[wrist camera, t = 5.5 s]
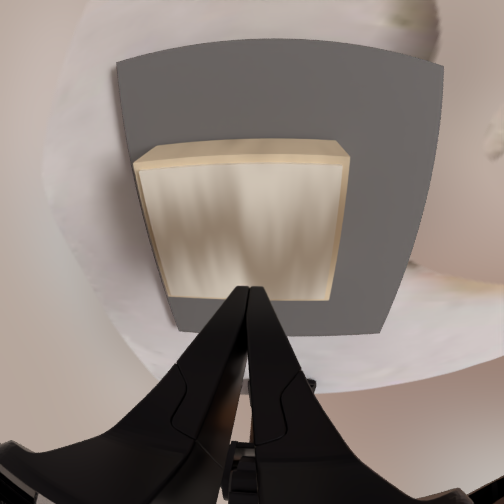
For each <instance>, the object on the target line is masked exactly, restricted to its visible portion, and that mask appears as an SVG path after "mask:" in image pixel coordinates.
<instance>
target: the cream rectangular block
mask: <svg viewBox="0 0 504 504" xmlns="http://www.w3.org/2000/svg"><path fill="white" fill-rule="evenodd" d="M349 165H350V156H349V155H348V154H347V152H346V151H345V150H344V149H343V148H342V147H341V146H340V144H339V143H338V142H337V141H336V140H319V139H285V138H262V139H229V140H211V141H197V142H186V143H176V144H167V145H158V146H155V147H154V148H153V149H151V150H150V151H148V152H147V153H146V154H144V155H143V156H142V157H140V158H139V159H138V160H136V161H135V162H134V163H133V166H134V171H135V176H136V181H137V185H138V190H139V194H140V198H141V203H142V207H143V211H144V215H145V219H146V223H147V227H148V230H149V234H150V238H151V241H152V245H153V249H154V252H155V256H156V259H157V262H158V266H159V269H160V272H161V276H162V279H163V282H164V285H165V288H166V291H167V294H168V297H185V298H206V299H226V298H227V297H228V296H229V295H230V293H231V292H232V291H233V289H234V288H235V287H236V286H249V287H251V286H263V287H264V288H265V291H266V293H267V295H268V297H269V299H270V300H278V301H325V300H329V297H330V293H331V288H332V282H333V277H334V272H335V266H336V261H337V255H338V249H339V243H340V237H341V230H342V223H343V216H344V209H345V201H346V193H347V184H348V175H349Z"/></svg>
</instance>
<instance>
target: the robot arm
mask: <svg viewBox="0 0 504 504" xmlns="http://www.w3.org/2000/svg"><path fill="white" fill-rule="evenodd" d="M247 357H248V365H249V380H250V381H248V390H249V398H250V406H251V408H252V418H251V430H250V441H249V443H246V442H245V443H244V442H238V441H231V444H230V439H231V435H232V429H233V425H234V420H235V416H236V411H237V406H238V401H239V396H240V392H241V387H242V382H243V377H244V372H245V367H246V362H247ZM176 363H177V364H176ZM176 363H175V364H174V365H173V366H172V368H171V369H170V370H169V371H168V373H167V374H166V375H165V376H164V377H163V378H162V380H161V381H160V382H159V383H158V384H157V386H155V387H154V388H153V389H152V390H151V392H150V393H149V394H148V395H147V396H146V397H145V398H144V399H143V400H141V401H140V402H139V403H138V404H137V405H136V406H135V407H134V408H133V409H132V410H131V411H130V412H129V413H128V414H127V415H126V416H125V417H124V418H122V420H120V421H119V422H118V423H117V424H116V425H115V426H114V427H112V428H111V429H110V430H108V431H106V432H105V433H103V434H101V435H99V436H96V437H94V438H90V439H88V440H84V441H82V442H78V443H75V444H72V445H69V446H65V447H62V448H58V449H55V450H51V451H47V452H42V453H35V452H33V451H31V450H29V449H27V448H25V447H24V446H22V445H20V444H18V443H17V442H15V441H12V440H10V441H8V442H5V443H3V444H1V443H0V504H216V502H217V498H218V493H219V489H220V487H221V488H222V494H223V498H224V500H227V501H228V504H504V475H503V476H501V477H500V478H498V479H496V480H494V481H492V482H490V483H488V484H486V485H484V486H482V487H480V488H478V489H476V490H475V491H473V492H471V493H469V494H467V495H466V494H465V493H464V492H463V491H462V490H461V489H460V488H454V489H450V490H448V491H444V492H441V493H437V494H433V495H429V496H426V497H421V498H417V499H414V498H412V497H410V496H408V495H406V494H405V493H404V492H402V491H401V490H399V489H398V488H396V487H395V486H394V485H392V484H391V483H389V482H388V481H387V480H385V479H384V478H383V477H381V476H380V475H378V474H377V473H376V472H374V471H373V470H372V469H371V468H369V467H368V466H367V465H365V464H364V463H363V462H362V461H361V460H360V459H359V458H358V457H357V456H356V455H355V454H354V453H353V452H352V450H351V449H350V448H349V447H348V445H347V444H346V442H345V441H344V440H343V439H342V437H341V435H340V434H339V432H338V431H337V430H336V428H335V426H334V425H333V423H332V422H331V420H330V419H329V417H328V416H327V414H326V413H325V411H324V410H323V408H322V406H321V405H320V403H319V402H318V400H317V399H316V397H315V395H314V391H315V388H316V381H314V380H307V379H306V377H305V375H304V373H303V371H301V366H300V364H299V362H298V360H297V358H296V356H295V353H294V351H293V349H292V347H291V345H290V343H289V340H288V338H287V336H286V334H285V332H284V330H283V327H282V325H281V323H280V321H279V319H278V317H277V314H276V312H275V310H274V308H273V306H272V304H271V301H270V299H269V297H268V295H267V293H266V291H265V288H264V287H263V286H251V287H249V286H236V287H235V288H234V289H233V291H232V292H231V293H230V295H229V296H228V297H227V298H226V300H225V301H224V302H223V303H222V305H221V306H220V307H219V309H218V310H217V311H216V312H215V314H214V315H213V316H212V317H211V319H210V320H209V321H208V322H207V324H206V325H205V326H204V328H203V329H202V330H201V331H200V333H199V334H198V335H197V336H196V338H195V339H194V340H193V341H192V343H191V344H190V345H189V346H188V348H187V349H186V350H185V351H184V353H183V354H182V355H181V356H180V358H179V359H178V360H177V362H176ZM229 444H230V445H229Z"/></svg>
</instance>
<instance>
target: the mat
mask: <svg viewBox="0 0 504 504" xmlns="http://www.w3.org/2000/svg"><path fill="white" fill-rule="evenodd" d="M116 63H117V74H118V83H119V92H120V100H121V107H122V114H123V121H124V127H125V133H126V139H127V145H128V150H129V155H130V161H131V166H132V170H133V175H134V180H135V184H136V189H137V193H138V198H139V202H140V206H141V210H142V214H143V218H144V222H145V226H146V229H147V233H148V237H149V240H150V244H151V247H152V251H153V254H154V258H155V261H156V264H157V268H158V271H159V274H160V277H161V281H162V284H163V287H164V290H165V293H166V296H167V299H168V302H169V305H170V308H171V310H172V313H173V316H174V319H175V322H176V324H177V327H178V330H179V331H182V332H194V333H200V331H201V330H202V329H203V328H204V326H205V325H206V324H207V322H208V321H209V320H210V319H211V317H212V316H213V315H214V314H215V312H216V311H217V310H218V309H219V307H220V306H221V305H222V303H223V302H224V301H225V300H226V299H206V298H185V297H168V294H167V291H166V288H165V285H164V282H163V279H162V276H161V272H160V269H159V266H158V262H157V259H156V256H155V252H154V249H153V245H152V241H151V238H150V234H149V230H148V227H147V223H146V219H145V215H144V211H143V207H142V203H141V198H140V194H139V190H138V185H137V181H136V176H135V171H134V166H133V163H134V162H135V161H136V160H138V159H139V158H140V157H142V156H143V155H144V154H146V153H147V152H148V151H150V150H151V149H153V148H154V147H155V146H158V145H167V144H176V143H186V142H197V141H211V140H229V139H262V138H285V139H319V140H336V141H337V142H338V143H339V144H340V146H341V147H342V148H343V149H344V150H345V151H346V152H347V154H348V155H349V156H350V165H349V175H348V184H347V193H346V201H345V209H344V216H343V223H342V230H341V237H340V243H339V249H338V255H337V261H336V266H335V272H334V277H333V282H332V288H331V293H330V297H329V300H325V301H278V300H270V301H271V304H272V306H273V308H274V310H275V312H276V314H277V317H278V319H279V321H280V323H281V325H282V327H283V330H284V332H285V334H286V336H338V335H360V334H376V333H380V331H381V329H382V327H383V324H384V322H385V320H386V318H387V315H388V313H389V311H390V308H391V306H392V303H393V301H394V299H395V296H396V294H397V291H398V288H399V286H400V283H401V280H402V278H403V275H404V272H405V269H406V267H407V264H408V261H409V258H410V255H411V252H412V249H413V245H414V242H415V239H416V236H417V232H418V229H419V225H420V222H421V218H422V214H423V210H424V206H425V203H426V199H427V194H428V190H429V185H430V181H431V176H432V170H433V165H434V160H435V155H436V148H437V142H438V135H439V127H440V119H441V109H442V96H443V75H444V66H441V65H439V64H436V63H432V62H429V61H426V60H423V59H419V58H416V57H412V56H408V55H405V54H401V53H396V52H392V51H388V50H383V49H378V48H373V47H367V46H361V45H355V44H348V43H340V42H331V41H320V40H306V39H245V40H231V41H220V42H211V43H203V44H196V45H189V46H183V47H178V48H172V49H167V50H163V51H158V52H153V53H149V54H145V55H141V56H137V57H134V58H130V59H126V60H123V61H120V62H116Z"/></svg>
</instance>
